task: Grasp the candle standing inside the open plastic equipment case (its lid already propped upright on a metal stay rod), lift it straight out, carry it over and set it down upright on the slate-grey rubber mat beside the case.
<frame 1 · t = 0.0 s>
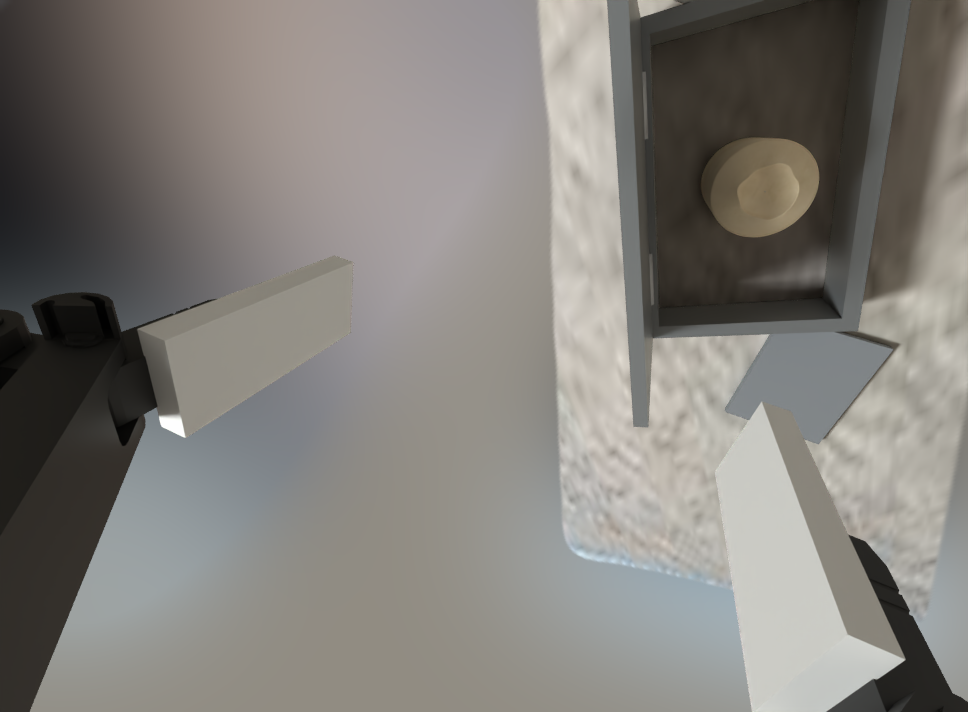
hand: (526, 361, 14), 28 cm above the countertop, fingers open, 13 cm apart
case: (740, 178, 33), on the countertop
candle: (740, 177, 33), resting in case
mat: (800, 380, 37), on the countertop
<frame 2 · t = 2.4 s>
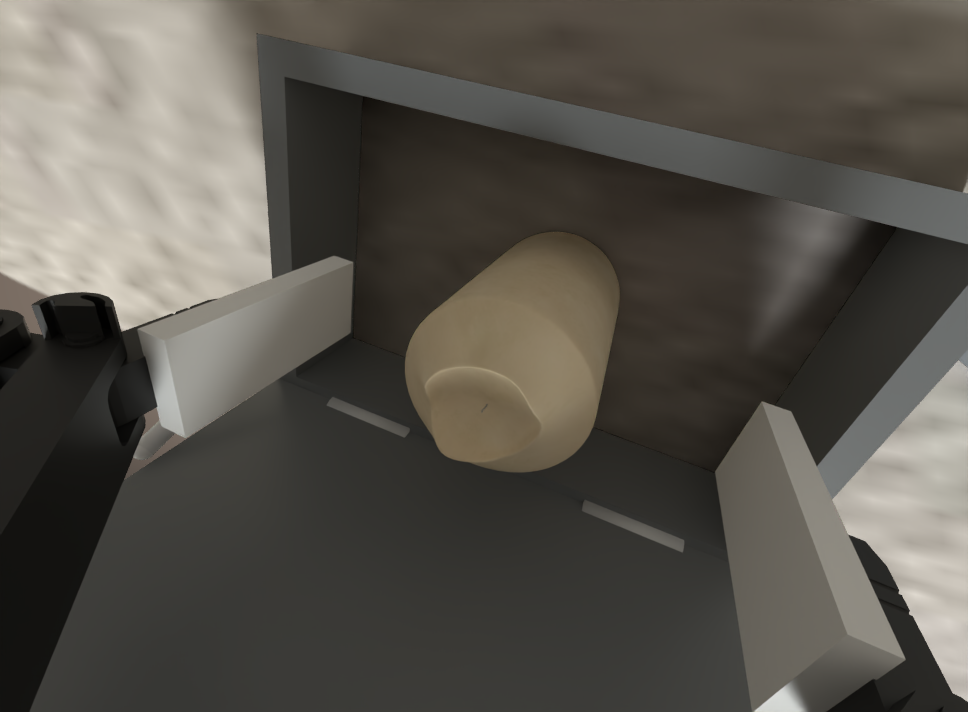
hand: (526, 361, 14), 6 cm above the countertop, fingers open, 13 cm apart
case: (555, 294, 19), on the countertop
candle: (556, 292, 19), resting in case
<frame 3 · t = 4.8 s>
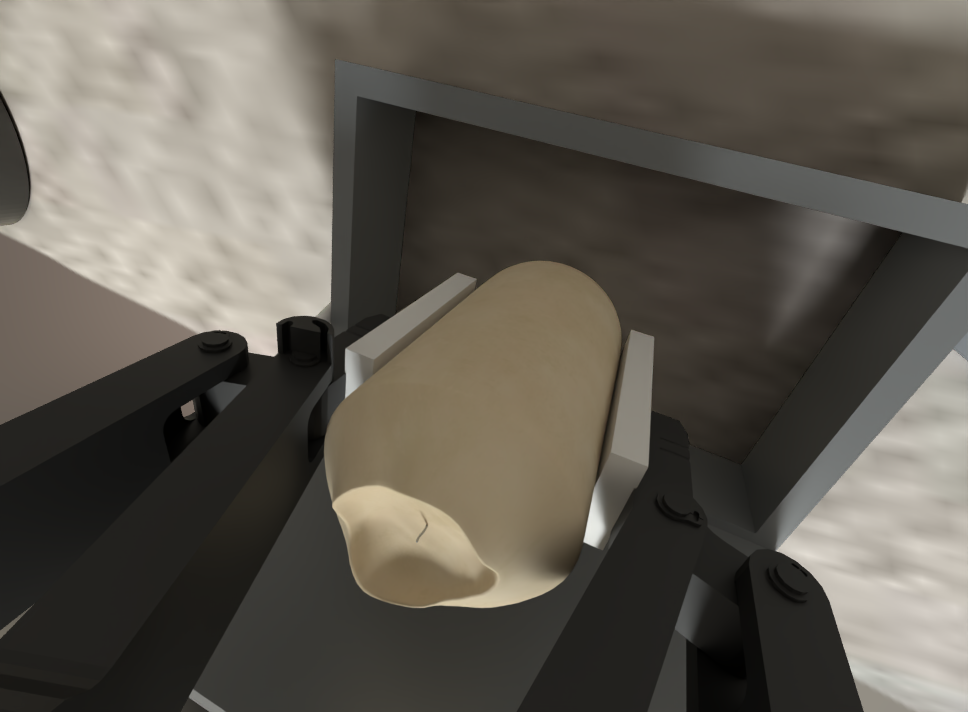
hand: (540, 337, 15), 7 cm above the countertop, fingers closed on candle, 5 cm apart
case: (585, 291, 21), on the countertop
candle: (544, 332, 16), point 6 cm above the countertop, touching gripper
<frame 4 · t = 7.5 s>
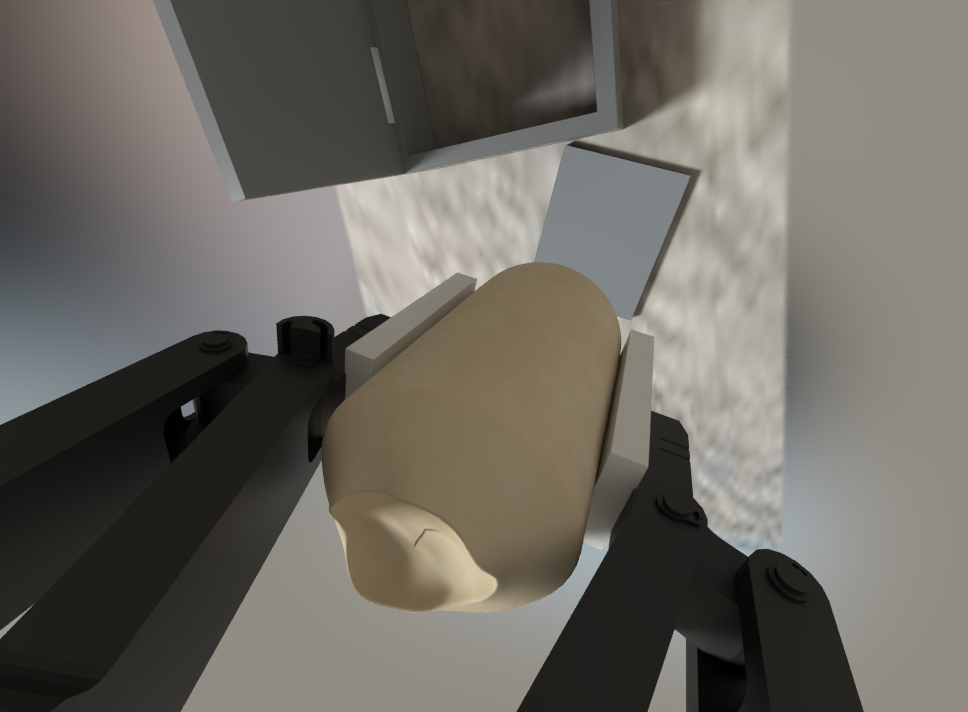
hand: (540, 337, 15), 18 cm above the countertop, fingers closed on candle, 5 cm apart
candle: (543, 333, 16), point 17 cm above the countertop, touching gripper
mat: (600, 236, 30), on the countertop
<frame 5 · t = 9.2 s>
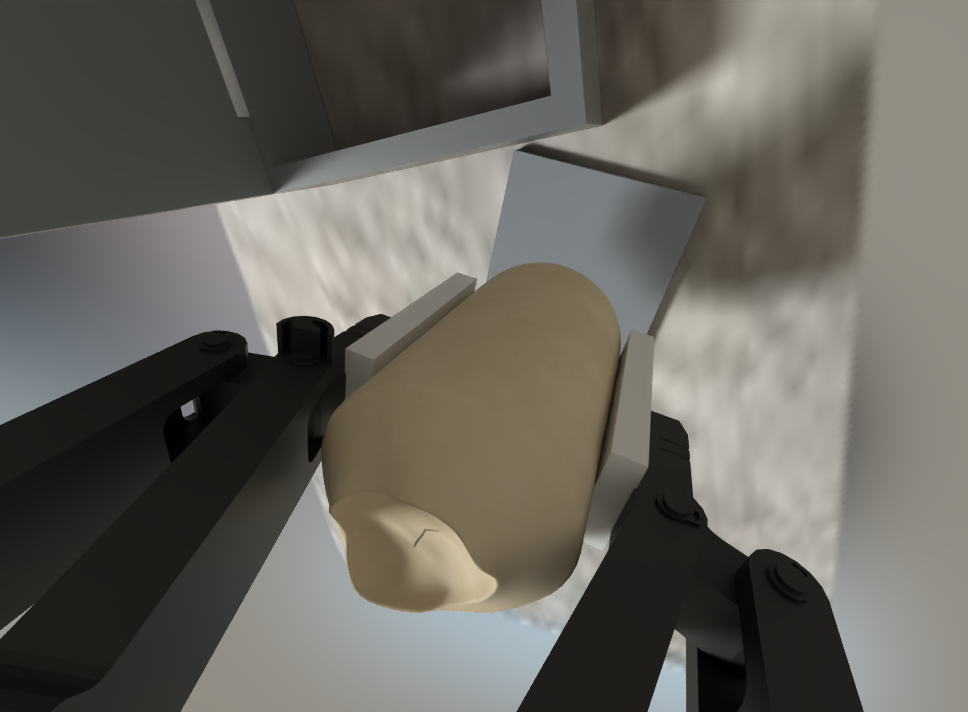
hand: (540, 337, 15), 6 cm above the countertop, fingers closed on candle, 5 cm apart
candle: (543, 333, 16), point 6 cm above the countertop, touching gripper
mat: (572, 282, 21), on the countertop
when the fingers open (2 cm above the countertop, at t = 10.6 s): candle stays where it is, resting on mat.
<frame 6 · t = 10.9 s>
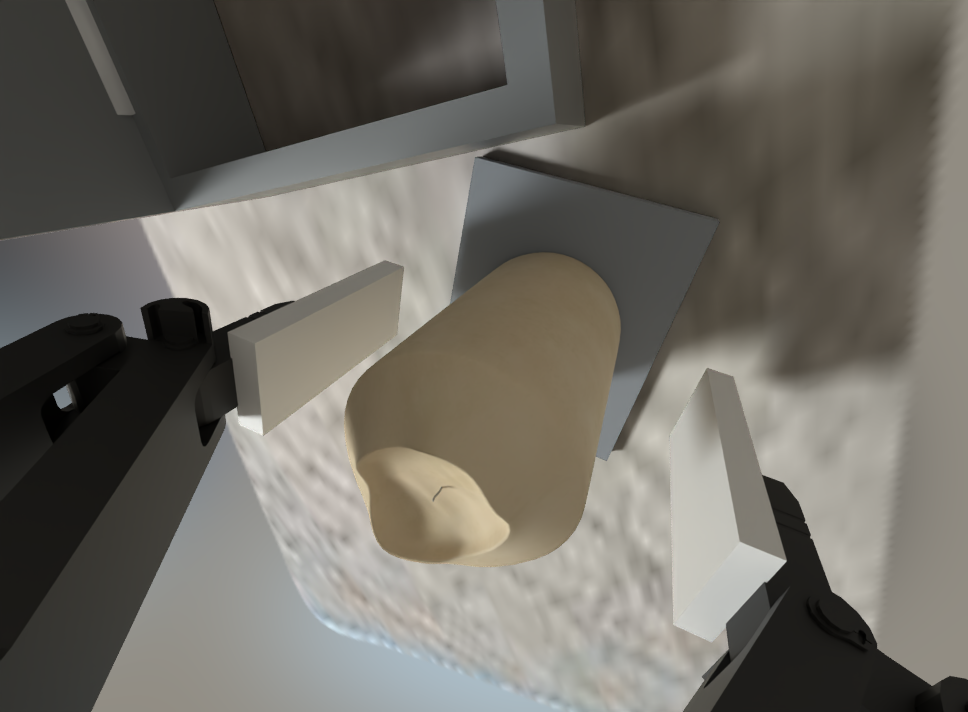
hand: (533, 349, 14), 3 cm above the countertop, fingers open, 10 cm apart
candle: (546, 321, 16), resting on mat
mat: (551, 319, 17), on the countertop
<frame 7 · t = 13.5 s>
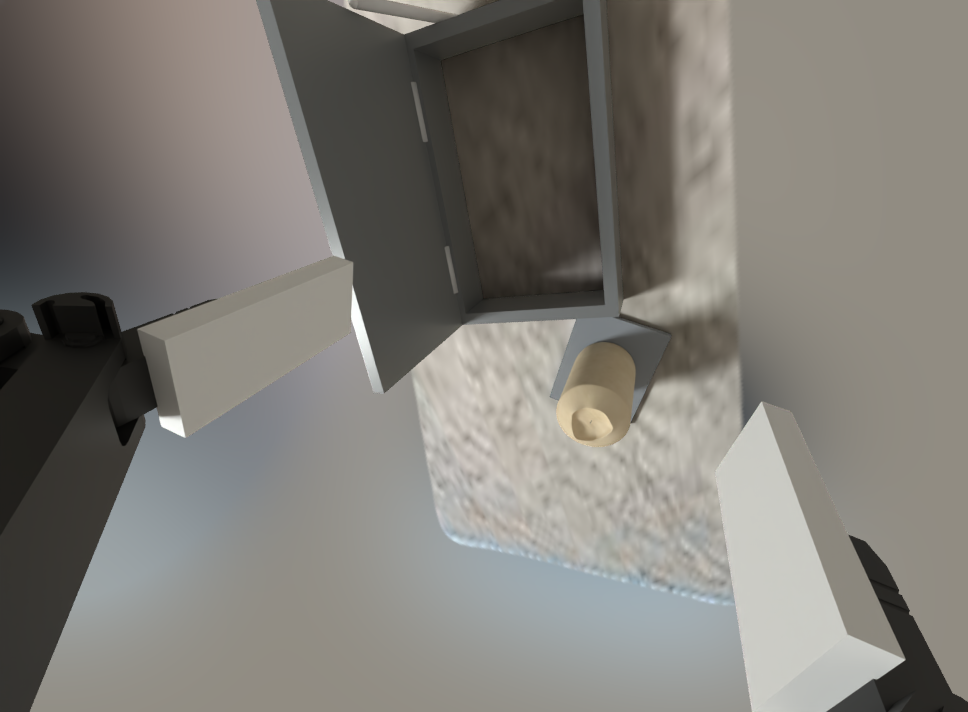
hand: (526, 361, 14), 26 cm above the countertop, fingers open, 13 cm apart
case: (528, 178, 36), on the countertop
candle: (604, 367, 40), resting on mat
mat: (606, 366, 41), on the countertop
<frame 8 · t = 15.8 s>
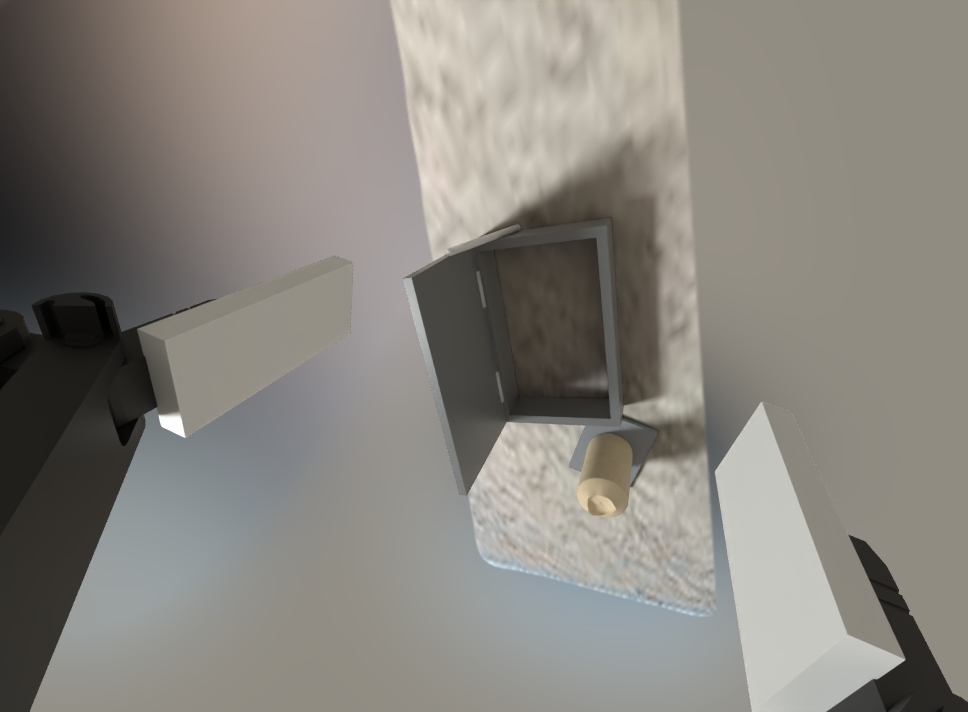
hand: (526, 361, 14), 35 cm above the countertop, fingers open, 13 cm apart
case: (555, 323, 50), on the countertop
candle: (610, 449, 55), resting on mat
mat: (611, 448, 55), on the countertop
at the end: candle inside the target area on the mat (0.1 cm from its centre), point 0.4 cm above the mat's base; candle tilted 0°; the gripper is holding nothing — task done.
